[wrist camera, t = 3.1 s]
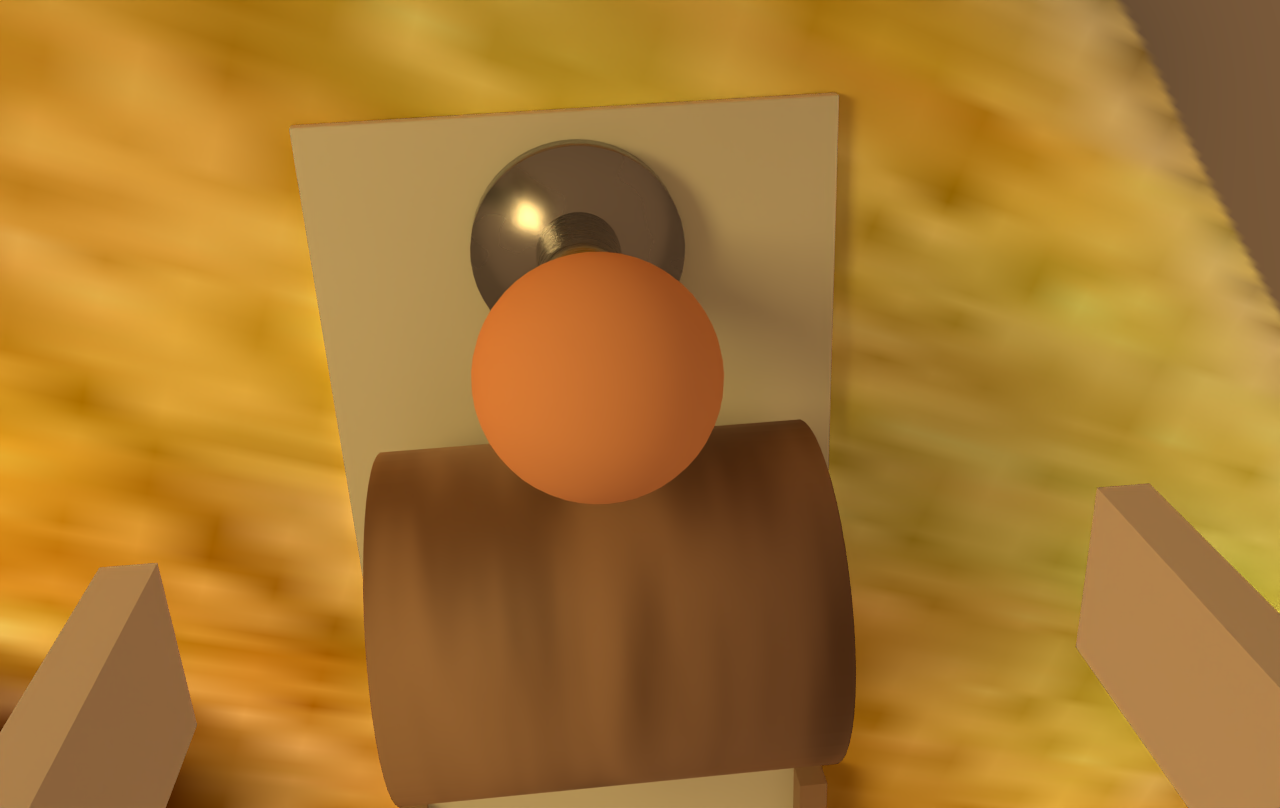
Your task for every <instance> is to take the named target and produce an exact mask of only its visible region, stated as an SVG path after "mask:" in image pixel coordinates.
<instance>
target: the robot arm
mask: <svg viewBox="0 0 1280 808" xmlns="http://www.w3.org/2000/svg"><path fill="white" fill-rule="evenodd" d="M1076 648H1077V649H1078V651H1079V652H1080V654H1081V655H1082V657H1083V658H1084V659H1085V661H1086V662H1087V664H1088V665H1089V667H1090V668H1091V669H1092V671H1093V672H1094V674H1095V675H1096V677H1097V678H1098V679H1099V681H1100V682H1101V684H1102V685H1103V687H1104V688H1105V689H1106V691H1107V692H1108V694H1109V695H1110V697H1111V698H1112V699H1113V701H1114V702H1115V704H1116V705H1117V707H1118V708H1119V709H1120V711H1121V712H1122V714H1123V715H1124V717H1125V718H1126V719H1127V721H1128V722H1129V724H1130V725H1131V727H1132V728H1133V729H1134V731H1135V732H1136V734H1137V735H1138V737H1139V738H1140V739H1141V741H1142V742H1143V744H1144V745H1145V747H1146V748H1147V749H1148V751H1149V752H1150V754H1151V755H1152V757H1153V758H1154V759H1155V761H1156V762H1157V764H1158V765H1159V767H1160V768H1161V769H1162V771H1163V772H1164V774H1165V775H1166V777H1167V778H1168V779H1169V781H1170V782H1171V784H1172V785H1173V787H1174V788H1175V790H1176V791H1177V792H1178V794H1179V795H1180V797H1181V798H1182V800H1183V801H1184V802H1185V804H1186V805H1187V807H1188V808H1280V614H1279V613H1278V612H1277V611H1276V610H1275V609H1274V608H1273V607H1272V606H1271V605H1270V604H1269V603H1268V602H1267V601H1266V600H1265V599H1264V598H1263V597H1262V596H1261V595H1260V594H1259V593H1258V592H1257V591H1256V590H1255V589H1254V588H1253V587H1252V586H1251V585H1250V584H1249V583H1248V582H1247V581H1246V580H1245V579H1244V578H1243V577H1242V576H1241V575H1240V574H1239V573H1238V572H1237V571H1236V570H1235V569H1234V568H1233V567H1232V566H1231V565H1230V564H1229V563H1228V562H1227V561H1226V560H1225V559H1224V558H1223V557H1222V556H1221V555H1220V554H1219V553H1218V552H1217V551H1216V550H1215V549H1214V548H1213V547H1212V546H1211V545H1210V544H1209V543H1208V542H1207V541H1206V540H1205V539H1204V538H1203V537H1202V536H1201V535H1200V534H1199V533H1198V532H1197V531H1196V530H1195V529H1194V528H1193V527H1192V526H1191V525H1190V524H1189V523H1188V522H1187V521H1186V520H1185V519H1184V518H1183V517H1182V516H1181V515H1180V514H1179V513H1178V512H1177V511H1176V510H1175V509H1174V508H1173V507H1172V506H1171V505H1170V504H1169V503H1168V502H1167V501H1166V500H1165V499H1164V498H1163V497H1162V496H1161V495H1160V494H1159V493H1158V492H1157V491H1156V490H1155V489H1154V488H1153V487H1152V486H1151V485H1150V484H1137V485H1124V486H1112V487H1099V488H1097V493H1096V500H1095V508H1094V515H1093V523H1092V530H1091V538H1090V545H1089V553H1088V560H1087V568H1086V575H1085V583H1084V590H1083V598H1082V605H1081V613H1080V620H1079V628H1078V635H1077V643H1076ZM196 726H197V723H196V719H195V715H194V711H193V707H192V703H191V699H190V694H189V690H188V686H187V682H186V678H185V674H184V670H183V666H182V662H181V658H180V654H179V650H178V645H177V641H176V637H175V633H174V629H173V625H172V621H171V617H170V613H169V609H168V605H167V600H166V596H165V592H164V588H163V584H162V580H161V576H160V572H159V568H158V564H157V563H150V564H138V565H125V566H113V567H100V568H99V569H98V571H97V573H96V574H95V576H94V578H93V579H92V581H91V583H90V584H89V586H88V588H87V589H86V591H85V593H84V594H83V596H82V598H81V599H80V601H79V603H78V604H77V606H76V607H75V609H74V611H73V612H72V614H71V616H70V617H69V619H68V621H67V622H66V624H65V626H64V627H63V629H62V631H61V632H60V634H59V636H58V637H57V639H56V641H55V642H54V644H53V646H52V647H51V649H50V651H49V652H48V654H47V656H46V657H45V659H44V661H43V662H42V664H41V666H40V667H39V669H38V671H37V672H36V674H35V676H34V677H33V679H32V681H31V682H30V684H29V686H28V687H27V689H26V691H25V692H24V694H23V695H22V697H21V699H20V700H19V702H18V704H17V705H16V707H15V709H14V710H13V712H12V714H11V715H10V717H9V719H8V720H7V722H6V724H5V725H4V727H3V729H2V730H1V732H0V808H166V805H167V802H168V800H169V797H170V794H171V792H172V789H173V786H174V784H175V781H176V779H177V776H178V773H179V771H180V768H181V765H182V763H183V760H184V758H185V755H186V752H187V750H188V747H189V744H190V742H191V739H192V737H193V734H194V731H195V729H196Z"/></svg>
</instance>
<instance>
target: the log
mask: <svg viewBox="0 0 1280 808" xmlns="http://www.w3.org/2000/svg"><path fill="white" fill-rule="evenodd" d="M363 602H364V628H365V646H366V660H367V673H368V683H369V693H370V702H371V710H372V718H373V725H374V731H375V738H376V744H377V749H378V754H379V760H380V764H381V768H382V772H383V777H384V780H385V783H386V786H387V790H388V792H389V794H390V797H391V799H392V800H393V802H394V804H395V805H397V806H398V807H405V806H415V805H425V804H435V803H445V802H456V801H466V800H476V799H486V798H496V797H506V796H516V795H526V794H536V793H547V792H557V791H567V790H577V789H587V788H597V787H607V786H617V785H627V784H638V783H648V782H658V781H668V780H678V779H688V778H698V777H708V776H718V775H729V774H739V773H749V772H759V771H769V770H779V769H789V768H799V767H809V766H820V765H830V764H838V763H839V762H841V761H842V760H843V758H844V756H845V755H846V752H847V749H848V746H849V743H850V738H851V733H852V727H853V719H854V708H855V687H856V660H855V634H854V619H853V607H852V596H851V587H850V578H849V570H848V563H847V556H846V549H845V543H844V538H843V532H842V526H841V521H840V516H839V511H838V507H837V502H836V498H835V494H834V490H833V486H832V482H831V478H830V475H829V471H828V468H827V465H826V462H825V459H824V456H823V453H822V451H821V448H820V446H819V443H818V441H817V439H816V437H815V435H814V433H813V432H812V430H811V428H810V427H809V426H808V425H807V424H806V422H804V421H802V420H801V419H798V420H785V421H772V422H760V423H747V424H734V425H722V426H714V428H713V430H712V432H711V434H710V436H709V438H708V440H707V442H706V444H705V445H704V447H703V448H702V450H701V451H700V453H699V454H698V456H697V457H696V458H695V459H694V460H693V461H692V462H691V464H690V465H689V466H688V467H687V468H686V469H684V470H683V471H682V472H681V473H680V474H679V475H678V476H677V477H675V478H674V479H673V480H671V481H670V482H668V483H667V484H665V485H664V486H662V487H661V488H659V489H657V490H655V491H653V492H651V493H649V494H646V495H644V496H641V497H639V498H636V499H632V500H628V501H624V502H619V503H612V504H584V503H577V502H572V501H567V500H563V499H561V498H558V497H555V496H552V495H549V494H547V493H545V492H543V491H541V490H538V489H536V488H535V487H533V486H531V485H530V484H528V483H527V482H525V481H524V480H522V479H521V478H520V477H519V476H517V475H516V474H515V473H514V472H513V471H512V470H511V469H510V468H509V467H508V466H507V465H506V464H505V463H504V462H503V461H502V460H501V459H500V457H499V456H498V455H497V454H496V452H495V451H494V449H493V448H492V447H491V445H490V444H481V445H468V446H456V447H443V448H430V449H418V450H405V451H392V452H380V453H379V454H378V455H377V456H376V458H375V460H374V462H373V466H372V469H371V473H370V478H369V484H368V491H367V498H366V509H365V522H364V543H363Z"/></svg>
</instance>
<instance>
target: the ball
mask: <svg viewBox="0 0 1280 808" xmlns="http://www.w3.org/2000/svg"><path fill="white" fill-rule="evenodd" d="M471 383H472V396H473V401H474V407H475V411H476V414H477V417H478V420H479V423H480V425H481V428H482V430H483V432H484V434H485V436H486V438H487V440H488V442H489V444H490V445H491V447H492V448H493V449H494V451H495V452H496V454H497V455H498V456H499V457H500V459H501V460H502V461H503V462H504V463H505V464H506V465H507V466H508V467H509V468H510V469H511V470H512V471H513V472H514V473H515V474H516V475H517V476H519V477H520V478H521V479H522V480H524V481H525V482H527V483H528V484H530V485H531V486H533V487H535V488H536V489H538V490H541V491H543V492H545V493H547V494H549V495H552V496H555V497H558V498H561V499H563V500H567V501H572V502H577V503H584V504H612V503H619V502H624V501H628V500H632V499H636V498H639V497H641V496H644V495H646V494H649V493H651V492H653V491H655V490H657V489H659V488H661V487H662V486H664V485H665V484H667V483H668V482H670V481H671V480H673V479H674V478H675V477H677V476H678V475H679V474H680V473H681V472H682V471H683V470H684V469H686V468H687V467H688V466H689V465H690V464H691V462H692V461H693V460H694V459H695V458H696V457H697V456H698V454H699V453H700V451H701V450H702V448H703V447H704V445H705V444H706V442H707V440H708V438H709V436H710V434H711V432H712V430H713V428H714V426H715V423H716V420H717V418H718V415H719V412H720V407H721V402H722V397H723V386H724V368H723V359H722V355H721V350H720V346H719V342H718V338H717V335H716V333H715V330H714V328H713V325H712V323H711V321H710V320H709V318H708V316H707V314H706V313H705V311H704V309H703V308H702V306H701V305H700V304H699V302H698V301H697V300H696V298H695V297H694V296H693V294H692V293H691V292H690V291H689V290H688V289H687V288H686V287H685V286H684V285H683V284H682V283H680V282H679V281H678V280H676V279H675V278H674V277H672V276H671V275H670V274H668V273H667V272H666V271H664V270H662V269H660V268H659V267H657V266H655V265H653V264H651V263H649V262H646V261H644V260H641V259H639V258H636V257H632V256H628V255H624V254H620V253H612V252H584V253H576V254H571V255H567V256H563V257H559V258H556V259H554V260H551V261H549V262H546V263H544V264H542V265H540V266H538V267H536V268H534V269H533V270H531V271H529V272H528V273H526V274H525V275H524V276H522V277H521V278H520V279H518V280H517V281H516V282H515V283H513V284H512V285H511V286H510V287H509V288H508V289H507V290H506V291H505V292H504V294H503V295H502V296H501V297H500V299H499V300H498V301H497V302H496V304H495V305H494V306H493V308H492V309H491V311H490V312H489V314H488V316H487V318H486V319H485V321H484V323H483V326H482V328H481V330H480V333H479V335H478V339H477V342H476V346H475V350H474V354H473V359H472V369H471Z"/></svg>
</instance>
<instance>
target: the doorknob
mask: <svg viewBox="0 0 1280 808" xmlns="http://www.w3.org/2000/svg"><path fill="white" fill-rule="evenodd" d="M584 252H612V253H620V254H624V255H628V256H632V257H636V258H639V259H641V260H644V261H646V262H649V263H651V264H653V265H655V266H657V267H659V268H660V269H662V270H664V271H666V272H667V273H668V274H670V275H671V276H672V277H674V278H675V279H676V280H678V281H680V278H681V275H682V271H683V265H684V260H685V239H684V231H683V227H682V222H681V219H680V216H679V213H678V211H677V208H676V206H675V204H674V201H673V199H672V197H671V195H670V194H669V192H668V190H667V188H666V186H665V185H664V184H663V182H662V181H661V180H660V178H659V177H658V176H657V175H656V174H655V173H654V171H653V170H652V169H651V168H650V167H649V166H648V165H646V164H645V163H644V162H642V161H641V160H640V159H639V158H637V157H636V156H634V155H632V154H631V153H629V152H627V151H625V150H623V149H621V148H618V147H616V146H614V145H611V144H607V143H603V142H600V141H594V140H586V139H568V140H560V141H554V142H550V143H547V144H543V145H540V146H538V147H535V148H533V149H530V150H528V151H527V152H525V153H523V154H521V155H520V156H518V157H516V158H515V159H514V160H512V161H511V162H510V163H508V164H507V165H506V166H505V167H504V168H503V169H502V170H501V171H500V172H499V173H498V174H497V175H496V176H495V177H494V179H493V180H492V181H491V183H490V184H489V185H488V187H487V188H486V190H485V192H484V194H483V195H482V197H481V199H480V202H479V204H478V207H477V209H476V212H475V216H474V220H473V224H472V233H471V243H470V258H471V266H472V272H473V276H474V279H475V282H476V285H477V288H478V290H479V292H480V294H481V296H482V298H483V300H484V302H485V303H486V305H487V306H488V308H489V309H490V311H491V309H492V308H493V306H494V305H495V304H496V302H497V301H498V300H499V299H500V297H501V296H502V295H503V294H504V292H505V291H506V290H507V289H508V288H509V287H510V286H511V285H512V284H513V283H515V282H516V281H517V280H518V279H520V278H521V277H522V276H524V275H525V274H526V273H528V272H529V271H531V270H533V269H534V268H536V267H538V266H540V265H542V264H544V263H546V262H549V261H551V260H554V259H556V258H559V257H563V256H567V255H571V254H576V253H584Z"/></svg>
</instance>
